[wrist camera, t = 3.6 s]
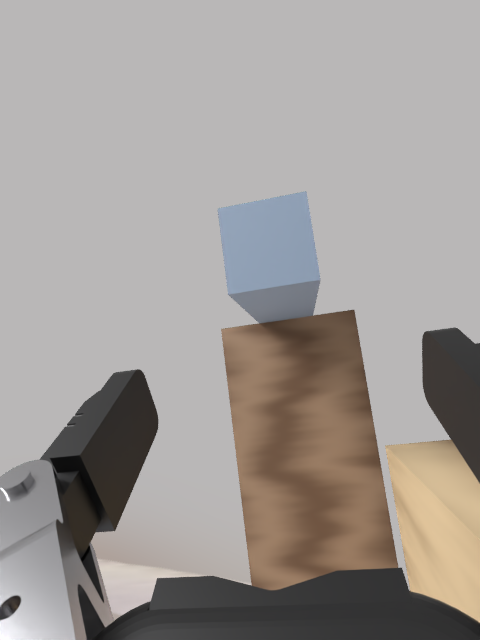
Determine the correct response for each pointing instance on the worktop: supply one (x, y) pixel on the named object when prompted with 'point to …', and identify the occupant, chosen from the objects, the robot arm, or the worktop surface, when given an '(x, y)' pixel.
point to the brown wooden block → (306, 450)
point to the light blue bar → (271, 257)
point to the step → (438, 521)
